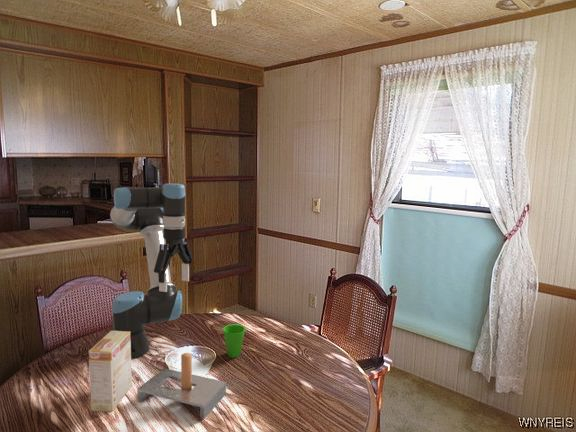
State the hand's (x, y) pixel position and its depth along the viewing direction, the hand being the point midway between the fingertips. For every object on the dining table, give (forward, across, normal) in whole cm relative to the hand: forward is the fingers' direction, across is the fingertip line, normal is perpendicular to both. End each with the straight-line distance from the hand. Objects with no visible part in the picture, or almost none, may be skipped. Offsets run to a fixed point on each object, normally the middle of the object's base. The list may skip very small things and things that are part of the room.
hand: (174, 285), depth 146 cm
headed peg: (+32, -15, -14) cm, 38 cm away
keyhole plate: (+32, -15, -13) cm, 37 cm away
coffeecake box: (+32, -23, +8) cm, 40 cm away
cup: (+32, +18, -15) cm, 40 cm away
